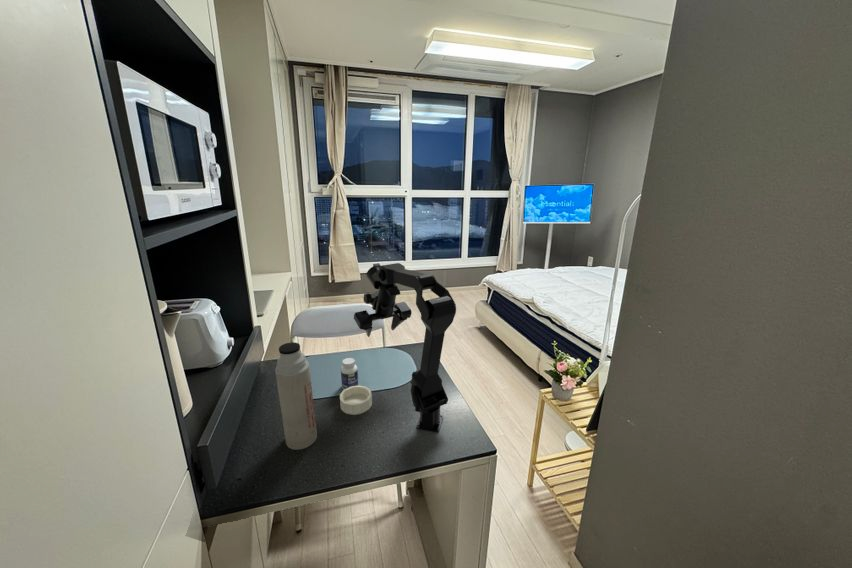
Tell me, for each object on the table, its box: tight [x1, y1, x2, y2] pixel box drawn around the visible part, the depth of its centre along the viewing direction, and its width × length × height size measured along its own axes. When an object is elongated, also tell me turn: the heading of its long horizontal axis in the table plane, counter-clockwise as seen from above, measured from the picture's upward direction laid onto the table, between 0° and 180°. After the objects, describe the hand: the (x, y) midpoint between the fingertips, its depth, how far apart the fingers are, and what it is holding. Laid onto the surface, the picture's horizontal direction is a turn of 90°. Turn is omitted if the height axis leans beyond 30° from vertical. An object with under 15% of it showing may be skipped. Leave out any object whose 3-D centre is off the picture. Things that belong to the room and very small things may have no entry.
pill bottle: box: [340, 357, 359, 390], centre depth 115 cm, size 5×5×10 cm
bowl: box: [339, 385, 373, 416], centre depth 107 cm, size 10×10×4 cm
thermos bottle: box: [274, 341, 318, 451], centre depth 90 cm, size 8×8×28 cm
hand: (380, 332), depth 120 cm, fingers open, 9 cm apart
